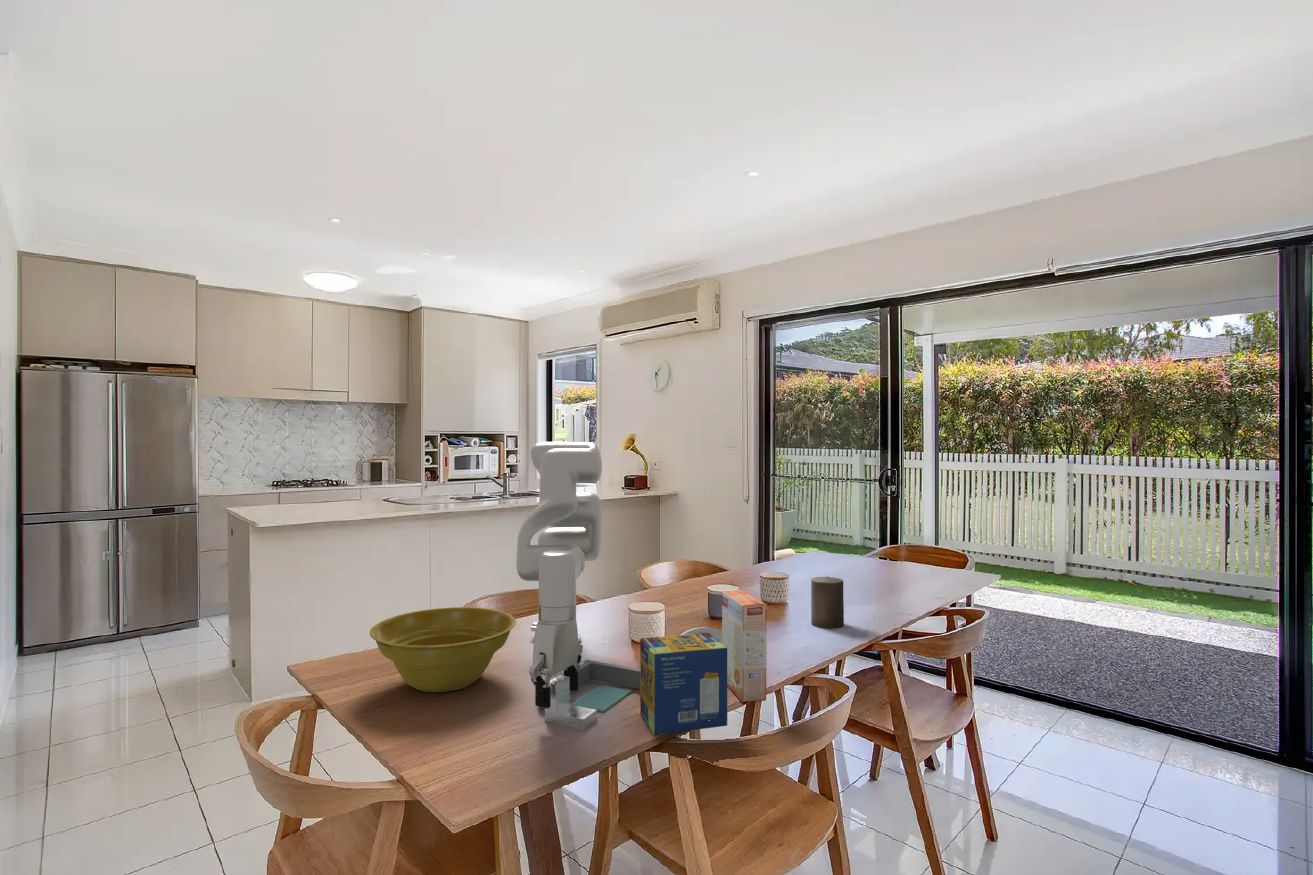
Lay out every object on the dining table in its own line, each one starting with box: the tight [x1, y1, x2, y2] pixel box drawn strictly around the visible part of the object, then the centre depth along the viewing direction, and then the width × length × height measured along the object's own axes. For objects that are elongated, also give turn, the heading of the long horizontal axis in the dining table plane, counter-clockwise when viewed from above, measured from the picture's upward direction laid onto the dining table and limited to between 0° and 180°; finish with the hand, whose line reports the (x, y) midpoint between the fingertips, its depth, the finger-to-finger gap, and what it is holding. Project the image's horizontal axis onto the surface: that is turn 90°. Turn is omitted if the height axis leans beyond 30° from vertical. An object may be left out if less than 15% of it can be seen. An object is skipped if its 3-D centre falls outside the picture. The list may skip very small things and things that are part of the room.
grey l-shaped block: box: [544, 674, 598, 731], centre depth 130 cm, size 9×5×8 cm, turn 64°
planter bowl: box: [369, 606, 517, 693], centre depth 151 cm, size 32×32×13 cm
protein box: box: [639, 632, 728, 736], centre depth 130 cm, size 10×15×16 cm
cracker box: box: [721, 590, 768, 703], centre depth 145 cm, size 14×6×21 cm, turn 12°
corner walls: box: [537, 659, 640, 710], centre depth 141 cm, size 18×20×4 cm
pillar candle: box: [810, 575, 845, 630], centre depth 198 cm, size 10×10×15 cm
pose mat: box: [570, 684, 632, 713], centre depth 140 cm, size 8×12×1 cm, turn 154°
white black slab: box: [677, 626, 722, 643], centre depth 162 cm, size 17×5×10 cm, turn 127°
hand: (557, 698), depth 131 cm, fingers open, 9 cm apart
